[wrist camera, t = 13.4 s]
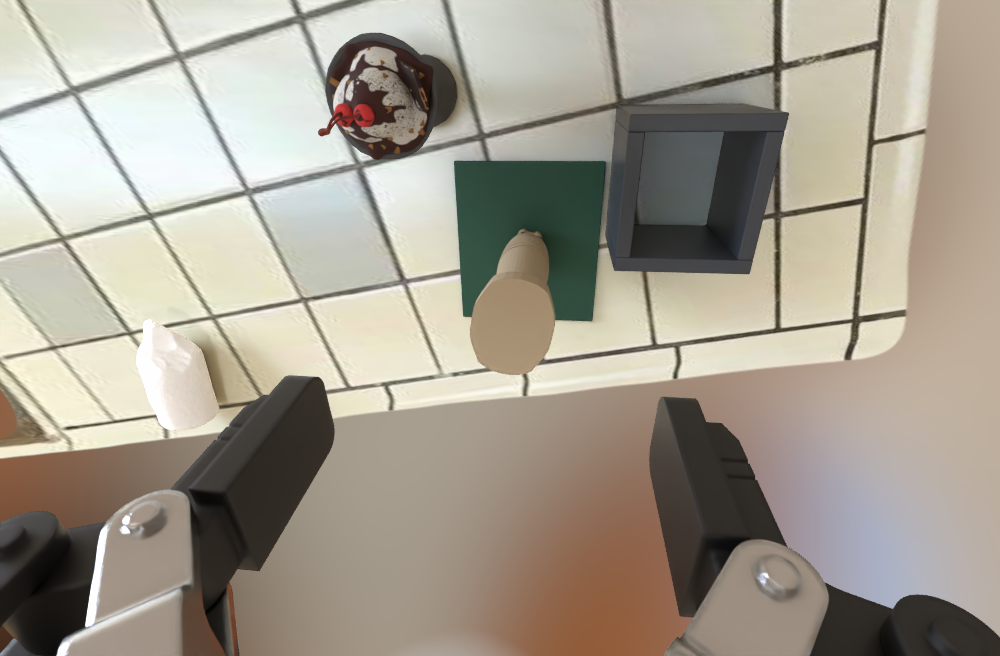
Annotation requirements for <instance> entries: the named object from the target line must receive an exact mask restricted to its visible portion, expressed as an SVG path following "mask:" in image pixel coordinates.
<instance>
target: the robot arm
mask: <svg viewBox="0 0 1000 656" xmlns="http://www.w3.org/2000/svg"><path fill="white" fill-rule="evenodd" d="M333 440H334V423H333V419H332V415H331V411H330V407H329V403H328V399H327V395H326V391H325V387H324V383H323V381H322V380H321V378H319V377H308V376H286V377H284V378H283V379H282V380H281V382H280V383H279V384H278V385H277V386H276V387H275V388H274V390H273V391H272V392H271V393H270V394H269V395H263V396H261V397H260V398H258V399H257V400H255V401H254V402H252V403H251V404H249V405H248V406H246V407H244V408H243V409H242V410H241V412H240V413H239V414H238V415H237V416H236V417H235V418H234V419H233V420H232V421H231V423H230V426H229V427H226V428H225V429H224V430H223V431H222V433H221V434H220V435H219V436H218V439H217V440H214V441H213V443H212V444H211V445H210V446H209V447H208V448H207V449H206V450H205V451H204V453H203V454H202V455H201V456H200V457H199V458H198V459H197V460H196V461H195V463H194V464H193V465H192V466H191V467H190V468H189V469H188V470H187V471H186V472H185V474H184V475H183V476H182V477H181V478H180V479H179V480H178V481H177V482H176V483H175V485H174V486H173V487H172V488H171V489H170V490H161V491H156V492H153V493H149V494H146V495H144V496H141V497H139V498H137V499H135V500H133V501H131V502H130V503H128V504H126V505H125V506H124V507H122V508H121V509H119V510H118V511H117V512H116V513H115V514H114V515H113V516H112V517H111V518H110V519H109V520H108V521H107V522H103V523H98V524H92V525H87V526H81V527H76V528H70V529H64V528H63V526H62V525H61V523H60V522H59V520H58V519H57V518H56V516H55V515H53V514H52V513H50V512H45V511H35V512H28V513H24V514H20V515H17V516H14V517H12V518H9V519H7V520H5V521H3V522H0V627H1V626H3V627H4V628H5V629H6V630H7V631H8V632H9V633H10V634H11V635H12V636H13V637H14V639H13V640H12V641H11V643H10V644H9V645H8V646H7V647H6V648H5V649H4V650H3V652H2V653H1V654H0V656H239V646H238V638H237V628H236V619H235V610H234V601H233V592H232V588H231V585H230V583H229V581H230V580H231V578H232V577H233V575H234V574H235V572H236V570H237V569H243V570H253V571H260V569H261V568H262V566H263V564H264V562H265V561H266V559H267V557H268V556H269V554H270V552H271V550H272V549H273V547H274V545H275V544H276V542H277V540H278V538H279V537H280V535H281V534H282V532H283V530H284V528H285V527H286V525H287V523H288V522H289V520H290V518H291V516H292V515H293V513H294V511H295V510H296V508H297V506H298V505H299V503H300V501H301V500H302V498H303V496H304V494H305V493H306V491H307V489H308V488H309V486H310V484H311V482H312V481H313V479H314V477H315V476H316V474H317V472H318V471H319V469H320V467H321V466H322V464H323V462H324V460H325V459H326V457H327V455H328V454H329V452H330V450H331V448H332V445H333ZM649 461H650V474H651V479H652V484H653V489H654V494H655V499H656V503H657V508H658V513H659V518H660V523H661V527H662V533H663V538H664V542H665V547H666V552H667V557H668V561H669V567H670V571H671V576H672V581H673V586H674V591H675V596H676V601H677V605H678V610H679V615H680V616H683V617H693V619H692V621H691V622H690V624H689V626H688V627H687V629H686V631H685V632H684V634H683V635H682V637H681V638H678V637H677V638H676V639H675V640H674V641H673V642H672V644H671V645H670V647H669V648H668V649H667V651H666V653H665V654H664V656H1000V637H999V636H998V635H997V634H996V633H995V632H994V631H993V630H992V629H990V628H989V627H988V626H987V625H985V623H983V622H982V621H981V620H979V619H978V618H976V617H975V616H973V615H972V614H970V613H969V612H967V611H966V610H964V609H962V608H960V607H958V606H956V605H954V604H952V603H950V602H948V601H945V600H942V599H939V598H936V597H932V596H927V595H909V596H906V597H903V598H902V599H900V600H899V601H898V602H897V604H896V605H895V607H894V608H893V609H891V608H888V607H886V606H883V605H880V604H877V603H875V602H872V601H869V600H866V599H863V598H861V597H858V596H855V595H852V594H849V593H847V592H844V591H842V590H839V589H837V588H835V587H833V586H831V585H829V584H827V583H825V582H824V581H823V579H822V577H821V576H820V574H819V573H818V572H817V570H816V569H815V568H814V567H813V566H812V565H811V564H810V563H809V562H808V561H807V560H806V559H805V558H804V557H802V556H801V555H800V554H798V553H797V552H795V551H793V550H792V549H790V548H788V547H787V545H786V543H785V541H784V539H783V536H782V534H781V532H780V530H779V528H778V526H777V523H776V522H775V519H774V517H773V514H772V512H771V510H770V508H769V506H768V503H767V501H766V499H765V497H764V494H763V492H762V490H761V488H760V486H759V483H758V481H757V480H755V475H754V473H753V470H752V468H751V466H750V464H748V459H747V457H746V455H745V453H744V450H743V448H742V446H741V444H740V442H739V440H738V439H737V438H736V437H735V436H734V435H733V434H732V433H731V432H730V431H729V430H728V429H727V428H726V427H725V426H724V425H723V424H722V423H709V422H706V421H705V418H704V415H703V413H702V410H701V407H700V405H699V403H698V401H697V400H696V399H692V398H673V397H661V398H660V400H659V403H658V408H657V413H656V419H655V424H654V430H653V435H652V440H651V446H650V458H649Z"/></svg>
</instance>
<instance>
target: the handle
mask: <svg viewBox="0 0 1000 656" xmlns="http://www.w3.org/2000/svg"><path fill="white" fill-rule="evenodd" d="M548 275H549V256H548V251H547V248H546V245H545V243H544V242H543V241H542V235H541V234H540V233H539V232H538V231H536V232H530V231H527V230H526V229H522V230H520V231H519V233H518V235H517V236H515V237H514V238H513V239H511V240H510V242H509V243H508V244H507V246H506V247H505V249H504V251H503V253H502V255H501V258H500V261H499V263H498V268H497V274H496V275H494V276H493V277H492V279H491V280H490V281H489V282H488V284H487V285H486V286H485V288H484V289H483V291H482V292H481V293H480V295H479V297H478V298H477V300H476V303H475V306H474V309H473V314H472V320H471V327H470V338H471V343H472V346H473V348H474V351H475V354H476V357H477V359H478V362H480V363H481V364H482V365H483V366H485V367H486V368H488V369H490V370H492V371H495V372H499V373H502V374H509V375H520V374H525V373H528V372H531V371H532V370H533V368H534V367H535V366H536V365H537V364H538V363H539V362H540V361H541V360H542V359H543V357H544V356H545V355H546V353H547V352H548V349H549V347H550V344H551V340H552V336H553V331H554V326H555V310H554V305H553V301H552V297H551V293H550V290H549V287H548V285H547V280H548Z"/></svg>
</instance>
